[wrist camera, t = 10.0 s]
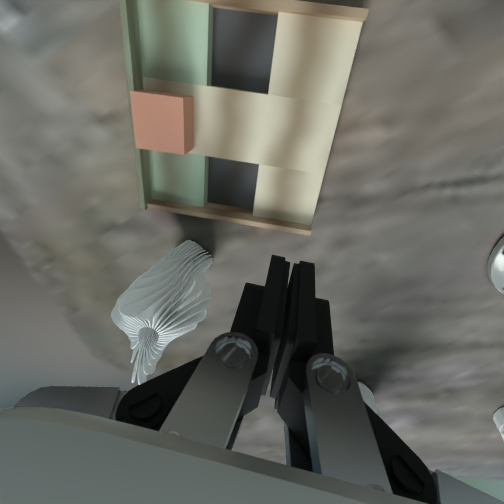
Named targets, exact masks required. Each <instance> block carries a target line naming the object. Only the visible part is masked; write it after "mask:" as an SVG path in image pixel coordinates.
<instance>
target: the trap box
mask: <svg viewBox="0 0 504 504" xmlns="http://www.w3.org/2000/svg"><path fill="white" fill-rule="evenodd" d="M119 9H120V19H121V29H122V38H123V48H124V57H125V67H126V77H127V86H128V96H129V105H130V115H131V125H132V134H133V144H134V153H135V163H136V173H137V182H138V192H139V202H140V209H143V210H146V209H147V208H149V209H155V210H161V211H167V212H173V213H178V214H184V215H190V216H196V217H202V218H208V219H214V220H220V221H226V222H232V223H238V224H243V225H249V226H255V227H261V228H267V229H273V230H279V231H285V232H291V233H297V234H303V235H308V236H310V235H311V223H312V219H313V216H314V212H315V208H316V204H317V200H318V196H319V192H320V188H321V184H322V180H323V176H324V172H325V169H326V165H327V161H328V157H329V153H330V149H331V145H332V141H333V137H334V133H335V129H336V125H337V121H338V118H339V114H340V110H341V106H342V102H343V98H344V94H345V90H346V86H347V82H348V78H349V74H350V71H351V67H352V63H353V59H354V55H355V51H356V47H357V43H358V39H359V35H360V31H361V27H362V24H363V22H364V21H365V20H366V19H367V15H368V11H369V9H365V8H356V7H348V6H340V5H332V4H323V3H315V2H307V1H299V0H119ZM135 90H150V91H158V92H166V93H173V94H181V95H188V96H194V149H193V150H191V151H190V152H188V153H187V154H185V155H181V154H174V153H167V152H161V151H154V150H147V149H140V148H136V144H135V135H134V125H133V116H132V107H131V98H130V91H135Z"/></svg>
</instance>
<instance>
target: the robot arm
mask: <svg viewBox="0 0 504 504" xmlns="http://www.w3.org/2000/svg"><path fill="white" fill-rule="evenodd" d="M289 268H290V262H287V261H285V257H281V256H276V255H272V257H271V262H270V266H269V271H268V275H267V280H266V284H265V287H264V286H260V285H255V284H251V283H246V284H245V287H244V290H243V293H242V296H241V299H240V303H239V306H238V309H237V312H236V315H235V318H234V321H233V324H232V327H231V331H230V332H227V333H224V334H221V335H219V336H218V337H216V338H215V339H214V340H213V341H212V342H211V344H210V346H209V347H208V349H207V351H206V353H205V354H204V356H202V357H199V358H197V359H195V360H193V361H191V362H188V363H186V364H184V365H182V366H180V367H177V368H175V369H173V370H171V371H169V372H166V373H164V374H162V375H160V376H158V377H155V378H153V379H151V380H149V381H147V382H144V383H142V384H140V385H138V386H136V387H134V388H133V389H131V390H129V391H120V388H119V387H85V386H84V387H83V386H82V387H81V386H48V387H41V388H38V389H36V390H34V391H31V392H30V393H28V394H27V395H25V396H24V397H23V398H21V399H20V400H19V401H18V402H17V403H16V404H15V406H14V407H13V408H6V409H0V504H504V502H503V501H501V500H499V499H497V498H494V497H493V496H490V495H488V494H486V493H484V492H482V491H480V490H478V489H476V488H474V487H472V486H470V485H468V484H466V483H464V482H462V481H460V480H458V479H456V478H454V477H452V476H450V475H448V474H446V473H444V472H442V471H440V470H438V469H436V470H435V471H434V472H433V471H431V470H429V469H428V468H427V467H426V465H425V464H424V463H423V462H422V461H421V459H420V458H419V457H418V456H417V455H416V454H415V453H414V452H413V451H412V450H411V449H410V448H409V447H408V446H407V445H406V444H405V443H404V442H403V441H402V440H401V439H400V438H399V437H398V435H397V434H396V433H395V432H394V431H393V430H392V429H391V428H390V427H389V426H388V425H387V424H386V423H385V422H384V421H383V420H382V419H381V418H380V417H379V416H378V415H377V414H376V413H375V412H374V411H373V410H372V409H371V408H370V407H369V406H368V405H367V404H366V403H365V402H364V401H363V398H362V395H361V391H360V388H359V385H358V382H357V379H356V376H355V374H354V372H353V370H352V369H351V368H350V366H349V365H348V364H347V363H346V362H344V361H343V360H342V359H341V358H339V357H336V356H334V351H333V339H332V328H331V317H330V305H329V301H328V300H324V299H319V298H315V265H314V263H309V262H304V261H300V263H299V264H296V263H294V265H293V269H292V273H291V277H290V281H289V284H288V277H289ZM487 270H488V276H489V279H490V281H491V282H492V283H493V285H494V286H495V287H496V288H497V289H498V290H499V291H500V292H501V293H503V294H504V237H503V238H502V239H501V240H500V241H499V242H498V243H497V245H496V246H495V247H494V249H493V251H492V253H491V255H490V257H489V261H488V265H487ZM287 286H288V288H287ZM273 366H274V367H273ZM272 370H273V375H272V383H271V391H270V397H272V398H275V407H274V409H278V410H277V412H278V414H279V415H280V416H281V418H282V419H283V421H284V422H285V423H284V439H285V455H286V465H284V464H280V463H276V462H272V461H269V460H265V459H261V458H257V457H254V456H250V455H246V454H242V453H239V452H235V451H233V448H234V445H235V443H236V440H237V437H238V434H239V431H240V429H241V426H242V423H243V420H244V416H245V415H246V414H247V413H249V412H251V411H252V410H254V409H255V408H257V407H258V404H259V400H260V396H261V395H264V396H265V394H266V391H267V387H268V384H269V380H270V377H271V373H272Z"/></svg>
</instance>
